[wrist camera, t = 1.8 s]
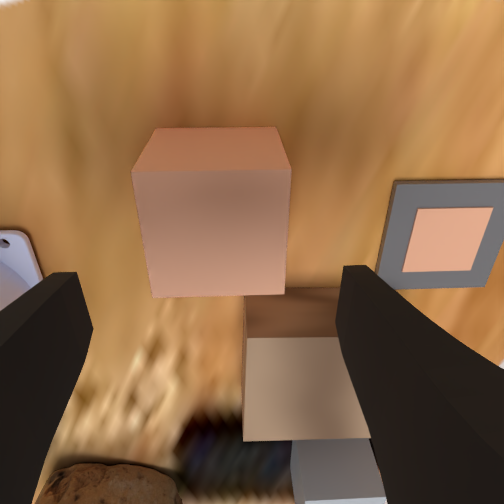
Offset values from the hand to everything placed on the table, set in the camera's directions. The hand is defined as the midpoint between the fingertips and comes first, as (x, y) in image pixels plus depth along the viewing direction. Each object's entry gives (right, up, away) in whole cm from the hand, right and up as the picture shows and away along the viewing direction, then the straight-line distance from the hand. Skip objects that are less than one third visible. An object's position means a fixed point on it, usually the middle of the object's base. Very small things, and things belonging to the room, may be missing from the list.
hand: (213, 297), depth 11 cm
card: (+11, +2, +9) cm, 14 cm away
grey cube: (+7, -13, +19) cm, 24 cm away
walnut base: (+4, -4, +13) cm, 14 cm away
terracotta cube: (0, +4, +7) cm, 8 cm away
